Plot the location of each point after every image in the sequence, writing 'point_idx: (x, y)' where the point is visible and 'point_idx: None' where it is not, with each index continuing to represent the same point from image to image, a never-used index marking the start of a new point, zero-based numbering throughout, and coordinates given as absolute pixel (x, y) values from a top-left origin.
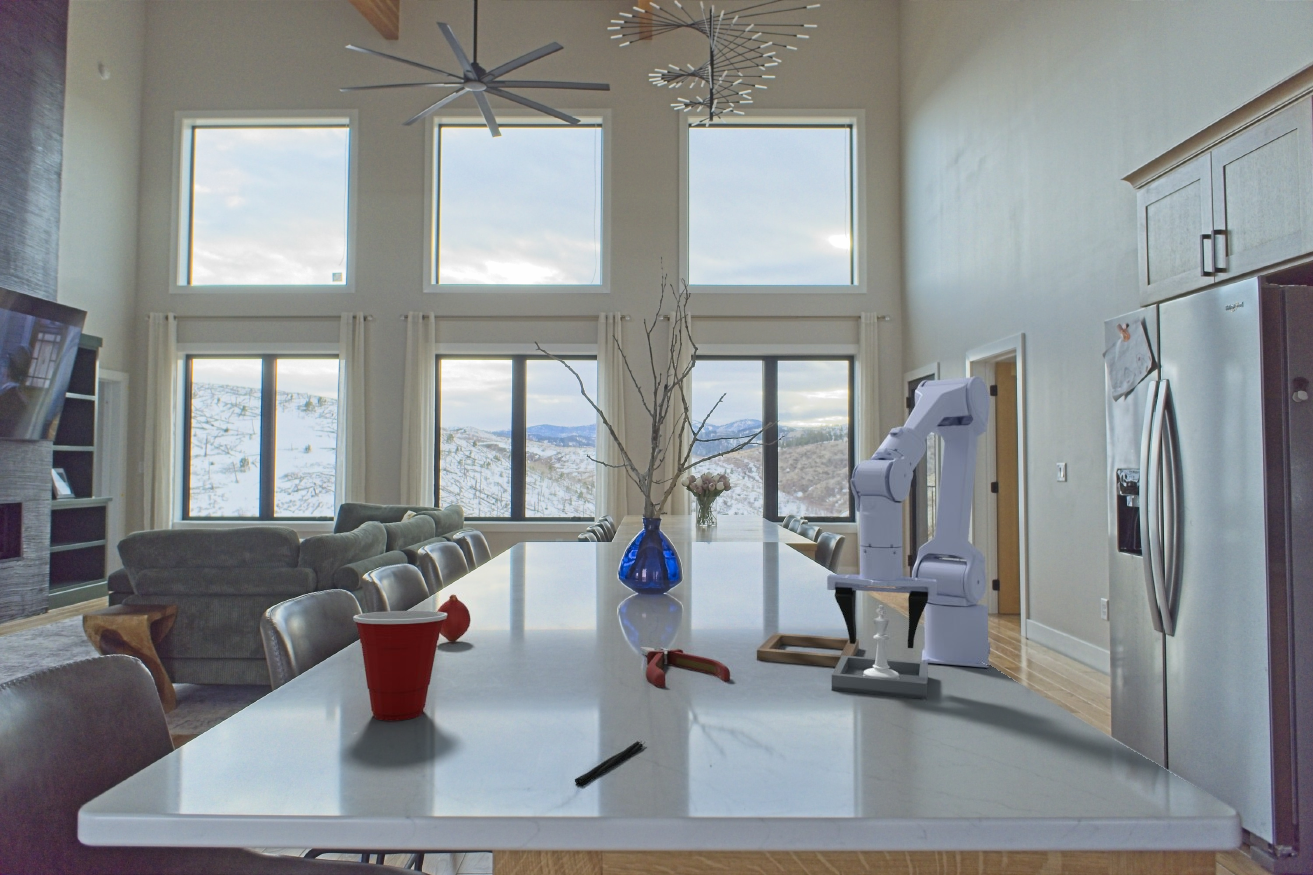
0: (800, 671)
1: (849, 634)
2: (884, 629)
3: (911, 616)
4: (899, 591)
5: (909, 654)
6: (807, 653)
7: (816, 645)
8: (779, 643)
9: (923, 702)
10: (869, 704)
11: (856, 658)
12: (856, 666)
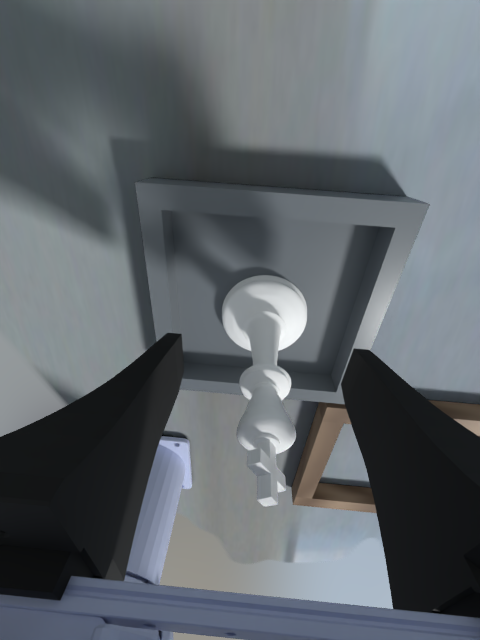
0: (443, 348)
1: (386, 366)
2: (253, 398)
3: (115, 404)
4: (143, 595)
5: (211, 472)
6: None
7: (363, 489)
8: None
9: (155, 141)
10: (314, 44)
11: (316, 390)
12: (313, 376)
